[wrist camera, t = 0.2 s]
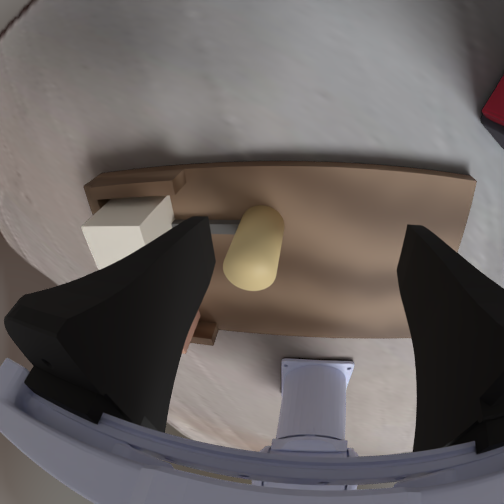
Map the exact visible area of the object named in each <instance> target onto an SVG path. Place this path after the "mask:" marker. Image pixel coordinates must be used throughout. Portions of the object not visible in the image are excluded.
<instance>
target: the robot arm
mask: <svg viewBox="0 0 504 504" xmlns="http://www.w3.org/2000/svg"><path fill="white" fill-rule="evenodd" d="M215 263H216V259H215V253H214V248H213V242H212V236H211V230H210V224H209V218H208V216H192V217H190V218H188V219H186V220H185V221H183V222H181V223H179V224H178V225H176V226H175V227H173V228H172V229H170V230H168V231H167V232H165V233H164V234H162V235H161V236H159V237H158V238H156V239H155V240H153V241H151V242H150V243H148V244H146V245H145V246H143V247H141V248H140V249H138V250H137V251H135V252H133V253H132V254H130V255H128V256H126V257H124V258H123V259H121V260H119V261H117V262H115V263H113V264H111V265H109V266H107V267H105V268H103V269H100V270H98V271H96V272H93V273H91V274H89V275H86V276H84V277H82V278H79V279H77V280H74V281H71V282H68V283H65V284H62V285H59V286H56V287H53V288H50V289H46V290H42V291H39V292H34V293H31V294H26V295H24V296H23V297H21V298H20V299H19V300H18V302H17V303H16V304H15V305H14V306H13V308H12V309H11V310H10V311H9V313H8V314H7V315H6V316H5V319H4V324H5V328H6V330H7V332H8V334H9V336H10V337H11V338H12V340H13V341H14V343H15V344H16V345H17V346H18V347H19V349H20V350H21V351H22V352H23V354H24V355H25V356H26V357H27V359H28V360H29V361H30V362H31V363H32V364H33V365H34V367H33V368H32V370H31V371H30V372H29V371H28V370H27V369H26V368H24V367H23V366H21V365H20V364H18V363H16V362H14V361H12V360H11V359H9V358H6V359H5V361H4V362H3V364H2V365H1V367H0V432H1V433H2V434H3V435H4V436H5V437H6V438H7V439H8V440H9V441H11V442H12V443H13V444H14V445H15V446H16V447H17V448H18V449H19V450H21V451H22V452H23V453H24V454H25V455H26V456H28V457H29V458H30V459H31V460H32V461H34V462H35V463H36V464H38V465H39V466H40V467H41V468H42V469H44V470H45V471H46V472H48V473H49V474H50V475H52V476H53V477H54V478H56V479H57V480H59V481H60V482H61V483H63V484H64V485H66V486H67V487H69V488H70V489H72V490H73V491H75V492H76V493H78V494H80V495H81V496H83V497H84V498H86V499H88V500H89V501H91V502H93V503H95V504H504V289H503V288H502V287H501V286H499V285H498V284H496V283H495V282H494V281H492V280H491V279H489V278H488V277H487V276H485V275H484V274H483V273H481V272H480V271H479V270H478V269H476V268H475V267H474V266H473V265H471V264H470V263H469V262H468V261H467V260H465V259H464V258H463V257H462V256H461V255H459V254H458V253H457V252H456V251H455V250H453V249H452V248H451V247H450V246H449V245H448V244H446V243H445V242H444V241H443V240H442V239H440V238H439V237H438V236H437V235H435V234H434V233H433V232H432V231H430V230H429V229H427V228H426V227H424V226H423V225H411V224H407V228H406V233H405V237H404V242H403V246H402V250H401V254H400V258H399V262H398V266H397V270H396V271H397V278H398V285H399V291H400V296H401V299H402V303H403V307H404V311H405V314H406V318H407V322H408V326H409V330H410V334H411V338H412V343H413V348H414V354H415V366H416V382H417V412H416V428H415V438H414V446H413V452H411V453H402V454H392V455H380V456H361V457H358V454H357V452H355V451H354V449H353V448H347V440H345V422H346V388H347V385H348V382H349V380H350V377H351V374H352V371H353V368H354V362H353V361H330V360H306V359H289V358H284V359H282V362H281V373H282V403H281V409H280V416H279V422H278V429H277V435H276V439H272V445H271V446H265V447H264V448H263V449H262V450H260V451H259V452H256V451H248V450H242V449H235V448H229V447H224V446H218V445H213V444H208V443H203V442H199V441H194V440H190V439H186V438H182V437H178V436H174V435H170V434H167V433H165V428H166V421H167V415H168V409H169V404H170V399H171V394H172V389H173V385H174V380H175V376H176V373H177V369H178V365H179V361H180V357H181V354H182V351H183V347H184V344H185V341H186V338H187V335H188V332H189V330H190V327H191V325H192V323H193V321H194V318H195V316H196V314H197V312H198V309H199V307H200V305H201V303H202V300H203V298H204V296H205V294H206V291H207V289H208V287H209V284H210V281H211V278H212V274H213V271H214V267H215ZM157 458H158V459H157ZM160 459H161V460H160ZM162 460H165V461H168V462H171V463H175V464H178V465H182V466H186V467H190V468H194V469H198V470H202V471H207V472H211V473H216V474H221V475H226V476H232V477H237V478H244V479H251V480H252V485H249V484H243V483H237V482H231V481H225V480H220V479H215V478H211V477H206V476H202V475H198V474H194V473H189V472H185V471H180V470H175V469H174V468H173V467H172V465H171V464H170V463H167V462H165V461H162ZM397 481H400V482H397ZM388 482H397V483H396V484H395V485H394V487H392V488H381V489H363V490H356V489H357V485H362V484H378V483H388Z"/></svg>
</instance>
